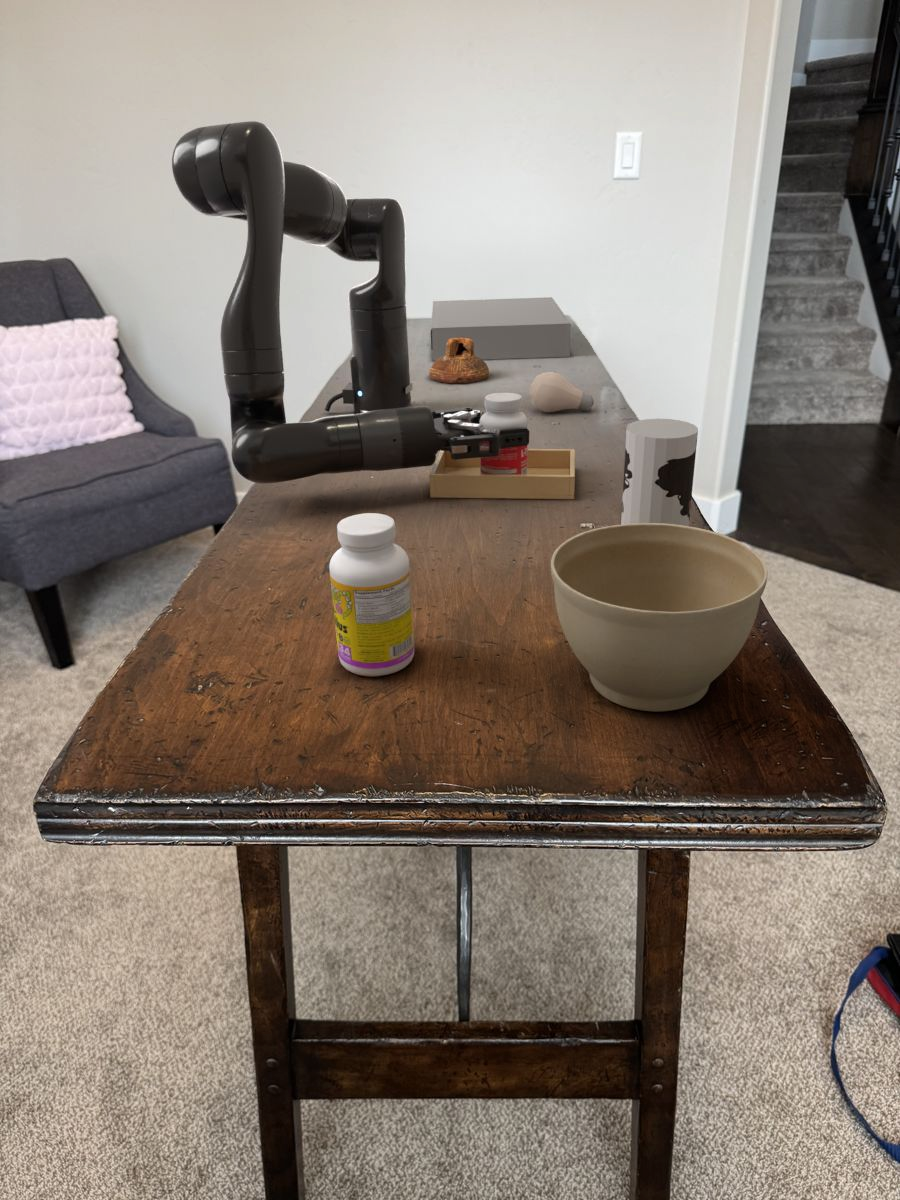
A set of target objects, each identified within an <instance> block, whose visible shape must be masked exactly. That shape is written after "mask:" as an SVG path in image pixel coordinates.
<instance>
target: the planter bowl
mask: <svg viewBox="0 0 900 1200" xmlns="http://www.w3.org/2000/svg"><path fill="white" fill-rule="evenodd" d="M768 571H769V570H768V567H767V564H766V563H765V561H764V559H763V558H762V557H761V556H760V555H759V554H758V553H757V552H756V551H755V550H754V549H752V548H750V547H749V546H748V545H746V544H744V543H742V542H741V541H739V540H737V539H735V538H732V537H729V536H728V535H725V534H723V533H719V532H716V531H713V530H708V529H704V528H700V527H695V526H690V525H689V526H683V525H676V524H665V523H631V524H622V525H621V524H615V525H608V526H602V527H597V528H593V529H589V530H586V531H583V532H581V533H577V534H575V535H573V536H571V537H569V538H568V539H566V540H565V541H563V542H562V543H561V544H559V546H558V547H557V548H556V549H555V550H554V552H553V554H552V556H551V559H550V573H551V578H552V582H553V590H554V601H555V608H556V613H557V616H558V620H559V624H560V627H561V630H562V633H563V635H564V637H565V639H566V641H567V643H568V644H569V647H570V648H571V650H572V652H573V654H574V655H575V656H576V658H577V659H578V661H579V662H580V663H581V665H582V666H583V667H584V668H585V669H586V671H587V672H588V674H589V679H590V682H591V684H592V686H593V688H594V689H595V690H596V691H597V692H598V693H599V694H600V695H601V696H602V697H604V698H605V699H607V700H609V701H610V702H612V703H614V704H616V705H619V706H621V707H624V708H628V709H632V710H636V711H643V712H653V713H654V712H657V713H658V712H670V711H671V712H672V711H676V710H681V709H684V708H688V707H690V706H692V705H694V704H696V703H698V702H699V701H701V700H702V698H703V697H704V696H705V695H706V694H707V693H708V691H709V689H710V688H709V687H710V685H711V683H712V682H714V680H716V679H717V678H718V677H719V676H720V675H721V674H722V673H723V672H724V671H726V669H727V668H729V666H730V665H731V664H732V663H733V661H734V660H735V659H736V658H737V656H738V655H739V653H740V652H741V650H742V649H743V647H744V645H745V643H746V642H747V640H748V638H749V636H750V634H751V633H752V632H751V631H752V629H753V627H754V624H755V621H756V619H757V615H758V612H759V608H760V605H761V604H760V603H761V598H762V596H763V594H764V592H765V589H766V585H767V582H768V576H769V572H768Z"/></svg>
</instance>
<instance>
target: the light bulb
mask: <svg viewBox="0 0 900 1200" xmlns="http://www.w3.org/2000/svg"><path fill="white" fill-rule="evenodd" d="M528 396H529V399H530V401H531V404H532V405H533V406H534V407H535V408H536V410H538V411H541V412H543V413H554V412H558V411H563V410H577V409H578V410H581V411H585V412H588V411H589V410H590V409H591V408H593V406H594V404H595V403H594V402H595V401H594V400H595V399H594V397H593V394H590V393H587V392H582V390H581V389H580V388H577V387H575V386H573V385H572V384H571V383H570V382H568V380H566V378H564V377H563V376H562V375H561V374H559V373H556V372H555V371H554V372H553V371H546V372H542V373H539V375H537V376H536V377H534V379H533V380H532V382H531V384H530V385H529V391H528Z"/></svg>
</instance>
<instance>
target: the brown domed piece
mask: <svg viewBox="0 0 900 1200" xmlns="http://www.w3.org/2000/svg"><path fill="white" fill-rule="evenodd" d="M446 349H447V350H446V355H445V356H442V357H440V358H439V359H437V360H436V361H433V363H432V365H431V366H430V368H429V372H428V376H429V378H430V380H433V381H435V382H438V383H445V384H468V383H469V384H470V383H475V382H479V381H483V380H485V379H486V378H487V377H488V376H489V374H490V369H489V366H488V364H487V362H486V361H484V360H481V359H480V358H478V357H476V356H475V354H474V342H473V341H472V340H471V339H468V338H451V339H449V340H448V342H447V344H446Z"/></svg>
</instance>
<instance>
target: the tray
mask: <svg viewBox="0 0 900 1200" xmlns="http://www.w3.org/2000/svg"><path fill="white" fill-rule="evenodd" d="M437 454H438V455H437V456H436V460H435V462H434V464H433V465H432V468H431V470H430V473H429V496H430V497H429V498H441V499H443V498H447V499H448V498H449V499H517V500H519V499H521V500H524V499H525V500H530V499H531V500H575V487H576V486H575V485H576V484H575V483H576V458H575V457H576V456H575V455H576V450H575V449H573V448H527V475H507V474H480V457H479V458H467V459H457V460H454V459H451V453H450V452H449V451H441V450H440V451H438V453H437Z"/></svg>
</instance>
